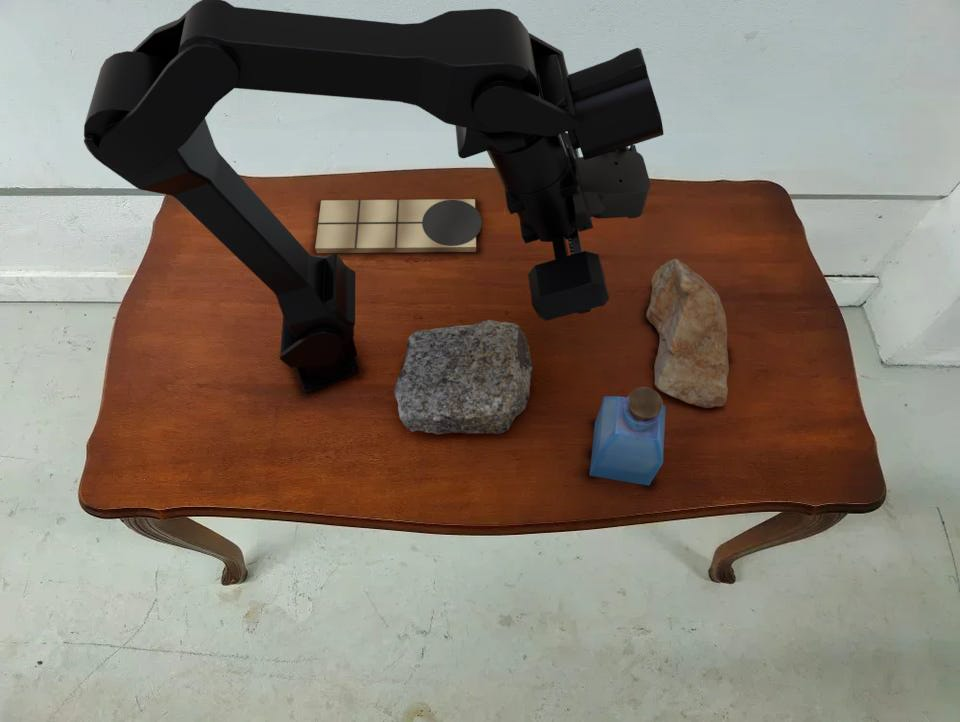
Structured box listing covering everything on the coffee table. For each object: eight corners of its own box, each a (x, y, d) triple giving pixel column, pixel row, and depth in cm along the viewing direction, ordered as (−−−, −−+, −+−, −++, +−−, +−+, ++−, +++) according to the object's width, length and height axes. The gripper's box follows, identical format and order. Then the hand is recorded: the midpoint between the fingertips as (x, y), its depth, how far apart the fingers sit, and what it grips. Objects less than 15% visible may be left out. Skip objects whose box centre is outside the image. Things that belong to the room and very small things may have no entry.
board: (316, 253, 89) (314, 247, 88) (322, 205, 93) (320, 199, 92) (482, 251, 89) (482, 246, 88) (481, 204, 93) (481, 198, 92)
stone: (642, 263, 86) (691, 240, 76) (705, 279, 88) (760, 259, 79) (627, 403, 83) (676, 397, 73) (693, 416, 85) (748, 411, 76)
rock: (391, 439, 76) (531, 444, 76) (387, 414, 70) (537, 420, 71) (401, 338, 82) (530, 343, 82) (397, 307, 76) (536, 314, 77)
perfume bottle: (648, 485, 73) (678, 438, 63) (589, 475, 74) (608, 426, 64) (652, 432, 77) (680, 378, 66) (595, 422, 77) (614, 368, 67)
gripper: (657, 225, 50) (681, 331, 63) (611, 57, 60) (640, 179, 73) (509, 268, 53) (560, 361, 66) (487, 101, 63) (536, 211, 75)
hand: (578, 273), depth 70 cm, fingers open, 9 cm apart
